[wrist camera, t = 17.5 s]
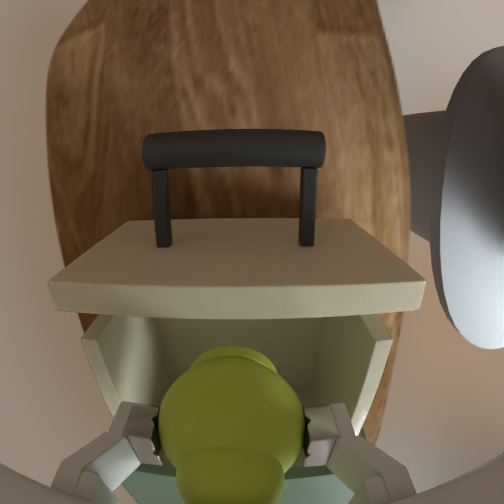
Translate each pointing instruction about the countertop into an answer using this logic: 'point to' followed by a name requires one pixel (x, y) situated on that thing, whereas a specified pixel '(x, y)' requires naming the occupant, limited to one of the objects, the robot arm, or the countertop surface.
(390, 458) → the robot arm
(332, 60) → the countertop surface
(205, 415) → the pear
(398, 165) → the countertop surface
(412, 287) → the drawer
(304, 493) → the cabinet
